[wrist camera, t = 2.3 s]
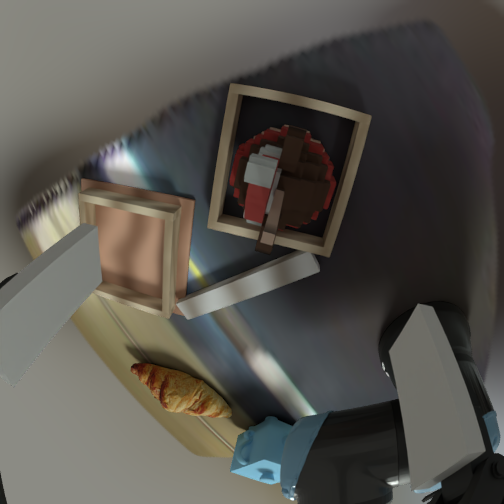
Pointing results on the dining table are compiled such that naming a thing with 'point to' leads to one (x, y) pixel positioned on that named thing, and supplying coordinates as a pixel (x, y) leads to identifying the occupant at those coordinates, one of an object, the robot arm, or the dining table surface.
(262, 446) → the teapot
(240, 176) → the cake
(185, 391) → the croissant
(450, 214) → the dining table surface
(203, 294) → the square wooden frames
